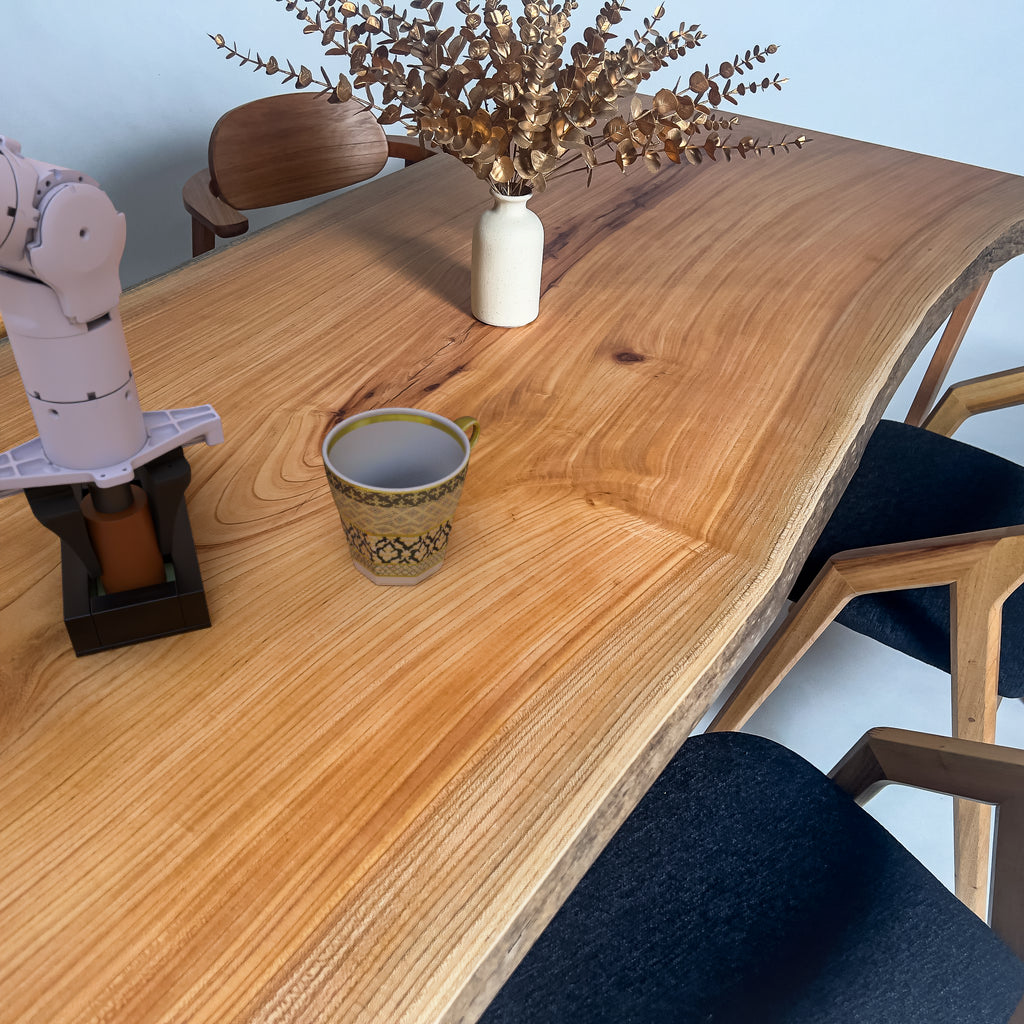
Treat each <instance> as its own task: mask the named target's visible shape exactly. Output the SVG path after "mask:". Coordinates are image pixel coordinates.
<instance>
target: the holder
mask: <svg viewBox="0 0 1024 1024" xmlns="http://www.w3.org/2000/svg"><path fill="white" fill-rule="evenodd" d="M133 472H134V478H133V479H132V480H131V481H130V484H132V485H136V486H138V487H140V488H142V484H141V481H140V478H139V474H138V471H137V468H136V469H134V470H133ZM70 485H71V487H72V489H73V492H74V495H75V497H76V499H77V501H78V503H79V505H80V504H81V502H82V500H83V499H84V498H85V497H86V496H87V495H88V494H89V489H88V486H87V482H84V483H73V484H70ZM142 489H143V488H142ZM59 543H60V544H59V545H60V546H59V547H60V565H61V567H60V569H61V591H62V614H63V617H62V618H63V623H64V626H65V629H66V631H67V635H68V637H69V640H70V643H71V646H72V648H73V652H74V654H75V657H76V658H81V657H82V658H83V657H86V656H90V655H94V654H95V655H96V654H98V653H104V652H107V651H112V650H116V649H120V648H125V647H129V646H133V645H138V644H142V643H147V642H152V641H155V640H161V639H164V638H169V637H173V636H177V635H182V634H186V633H190V632H191V633H192V632H194V631H199V630H204V629H208V628H212V627H213V625H212V621H211V616H210V612H209V605H208V602H207V597H206V592H205V588H204V583H203V578H202V572H201V568H200V563H199V558H198V554H197V548H196V544H195V540H194V535H193V529H192V524H191V520H190V516H189V509H188V506H187V501H186V497H185V494H184V495H183V498H182V500H181V503H180V506H179V509H178V512H177V516H176V521H175V526H174V533H173V552H172V553H169V554H166V555H162V553H161V555H162V559H163V563H164V567H165V571H166V576H167V581H166V582H164V583H159V584H154V585H150V586H145V587H140V588H135V589H131V590H126V591H121V592H116V593H111V594H107V595H106V594H105V591H104V588H103V585H102V582H101V578H100V577H97V578H94V579H92V578H90V576H89V574H88V571H87V569H86V567H85V566H84V564H83V563H82V561H81V560H80V558H79V557H78V556H77V555H76V553H75V552H74V551H73V550H72V549H71V548H70V547H69V546H68V545H67V544H66V543H65V542H64V541H63V540H62V539H61V538H59Z"/></svg>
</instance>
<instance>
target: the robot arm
mask: <svg viewBox="0 0 1024 1024" xmlns="http://www.w3.org/2000/svg"><path fill="white" fill-rule="evenodd" d="M21 152H22V145H21V143H20V142H19V141H18V140H16V139H13V138H10V137H9V136H6V135H3V134H0V316H1V320H2V322H3V325H4V327H5V331H6V334H7V337H8V341H9V343H10V347H11V350H12V353H13V356H14V360H15V363H16V365H17V369H18V372H19V375H20V378H21V381H22V384H23V388H24V391H25V394H26V397H27V400H28V403H29V407H30V410H31V413H32V416H33V419H34V422H35V426H36V429H37V431H38V435H39V436H36V437H34V438H32V439H30V440H27V441H25V442H23V443H21V444H18V445H17V446H14V447H12V448H10V449H8V450H6V451H4V452H1V453H0V500H3V499H6V498H10V497H14V496H18V495H21V494H24V496H25V498H26V500H27V503H28V505H29V508H30V510H31V512H32V515H33V517H34V518H35V519H36V520H37V521H38V522H39V523H40V524H41V525H42V526H43V528H46V529H47V530H49V531H50V532H52V533H53V534H54V535H55V536H57V537H58V538H59V539H60V538H61V539H62V540H63V541H64V542H65V543H66V544H67V545H68V546H69V547H70V548H71V549H72V550H73V551H74V552H75V553H76V555H77V556H78V557H79V558H80V560H81V561H82V563H83V564H84V566H85V567H86V569H87V571H88V574H89V576H90V578H92V579H94V578H97V577H100V576H102V571H101V568H100V565H99V563H98V560H97V558H96V556H95V553H94V551H93V549H92V547H91V544H90V541H89V537H88V534H87V530H86V526H85V522H84V517H83V512H82V510H81V507H80V505H79V503H78V501H77V499H76V497H75V495H74V492H73V489H72V487H71V485H70V484H73V483H84V482H95V483H96V485H97V486H98V487H100V488H109V487H113V486H116V485H119V484H123V483H126V482H129V481H131V480H132V479H133V478H134V472H133V470H134V469H136V468H137V471H138V474H139V478H140V481H141V484H142V488H143V490H144V491H145V492H146V494H147V496H148V501H149V505H150V509H151V513H152V517H153V521H154V526H155V530H156V534H157V539H158V543H159V547H160V551H161V553H162V555H166V554H169V553H172V552H173V533H174V526H175V521H176V516H177V512H178V509H179V506H180V503H181V500H182V498H183V495H184V496H185V493H186V492H187V489H188V487H189V486H190V484H191V483H192V468H191V467H192V466H191V465H190V464H191V463H190V462H189V461H188V458H186V456H185V452H184V449H185V448H189V447H192V446H196V445H200V444H203V443H205V444H206V445H207V446H208V447H214V446H218V445H221V444H224V443H225V436H224V430H223V423H222V418H221V416H220V415H219V413H218V412H217V410H216V409H215V408H214V407H213V405H212V404H211V403H206V404H201V405H196V406H191V407H183V408H173V409H159V410H147V411H143V410H142V405H141V401H140V397H139V393H138V389H137V384H136V379H135V375H134V371H133V365H132V362H131V357H130V356H131V355H130V353H129V348H128V344H127V338H126V334H125V330H124V326H123V321H122V318H121V313H120V309H119V304H120V302H121V299H120V295H121V294H123V289H122V284H121V279H120V272H119V271H120V264H121V260H122V256H123V254H124V251H125V246H126V240H127V221H126V215H125V213H124V212H119V211H118V210H116V208H115V206H114V204H113V202H112V200H111V199H110V198H109V196H108V194H107V192H106V191H105V190H102V189H99V188H100V187H101V184H100V183H99V182H98V181H97V180H96V179H94V178H93V177H92V176H90V175H89V174H87V173H84V172H83V171H80V170H76V169H72V168H68V167H65V166H61V165H57V164H53V163H49V162H45V161H42V160H38V159H34V158H29V157H27V156H24V155H22V154H21Z"/></svg>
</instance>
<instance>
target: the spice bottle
mask: <svg viewBox="0 0 1024 1024" xmlns="http://www.w3.org/2000/svg"><path fill="white" fill-rule="evenodd" d="M87 486H88V489H89V494H88V495H87V496H86V497H85V498H84V499H83V500H82V502H81V504H80V507H81V510H82V512H83V517H84V522H85V526H86V530H87V534H88V537H89V541H90V544H91V547H92V549H93V551H94V553H95V556H96V558H97V560H98V563H99V565H100V568H101V571H102V576H100V578H101V582H102V585H103V588H104V591H105V594H106V595H107V594H111V593H116V592H121V591H126V590H131V589H135V588H140V587H145V586H150V585H154V584H159V583H164V582H166V581H167V576H166V571H165V567H164V563H163V559H162V555H161V551H160V547H159V543H158V539H157V534H156V530H155V526H154V521H153V517H152V513H151V509H150V505H149V501H148V496H147V494H146V492H145V491H144V490H143V489H142V488H140V487H138V486H136V485H132V484H130V481H129V482H126V483H123V484H119V485H116V486H113V487H109V488H100V487H98V486H97V485H96V483H95V482H87Z"/></svg>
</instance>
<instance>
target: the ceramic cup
mask: <svg viewBox="0 0 1024 1024" xmlns="http://www.w3.org/2000/svg"><path fill="white" fill-rule="evenodd" d="M471 427H472V433H471V435H470V437H468V435H467V434H466V433H465V432H466V431H467V430H468V429H470V428H471ZM480 436H481V425H480V422H479V420H477V418H475V417H473V416H471V415H463V416H460V417H458V418H456V419H455V420H454V421H452V420H451V419H449V418H447V417H445V416H442V415H440V414H438V413H434V412H432V411H431V412H430V411H428V410H425V409H419V408H414V407H395V406H394V407H382V408H375V409H371V410H370V409H369V410H365V411H362V412H359V413H356V414H353V415H351V416H349V417H347V418H345V419H343V420H341V421H340V422H338V423H337V424H336V425H335V426H333V427H332V428H331V429H330V430H329V431H328V432H327V434H326V435H325V437H324V439H323V441H322V444H321V458H322V463H323V467H324V473H325V476H326V479H327V484H328V487H329V489H330V493H331V496H332V499H333V501H334V505H335V507H336V509H337V511H338V515H339V519H340V523H341V526H342V529H343V533H344V536H345V540H346V543H347V546H348V550H349V553H350V556H351V559H352V563H353V565H354V567H355V569H356V570H357V571H358V572H359V573H361V574H362V575H363V576H364V577H366V578H367V579H369V580H370V581H371V582H372V583H374V584H375V585H377V586H407V587H411V586H412V587H413V586H417V585H418V584H419V583H420V582H422V581H424V580H426V579H427V578H429V577H430V576H431V575H433V574H435V573H436V572H438V571H440V570H441V568H442V567H443V565H444V561H445V558H446V553H447V547H448V544H449V541H450V536H451V532H452V528H453V525H454V524H453V523H454V518H455V514H456V511H457V508H458V506H459V503H460V500H461V497H462V493H463V490H464V486H465V482H466V478H467V475H468V469H469V465H470V459H471V453H472V451H473V449H474V448H475V446H476V444H477V443H478V441H479V439H480Z"/></svg>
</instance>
